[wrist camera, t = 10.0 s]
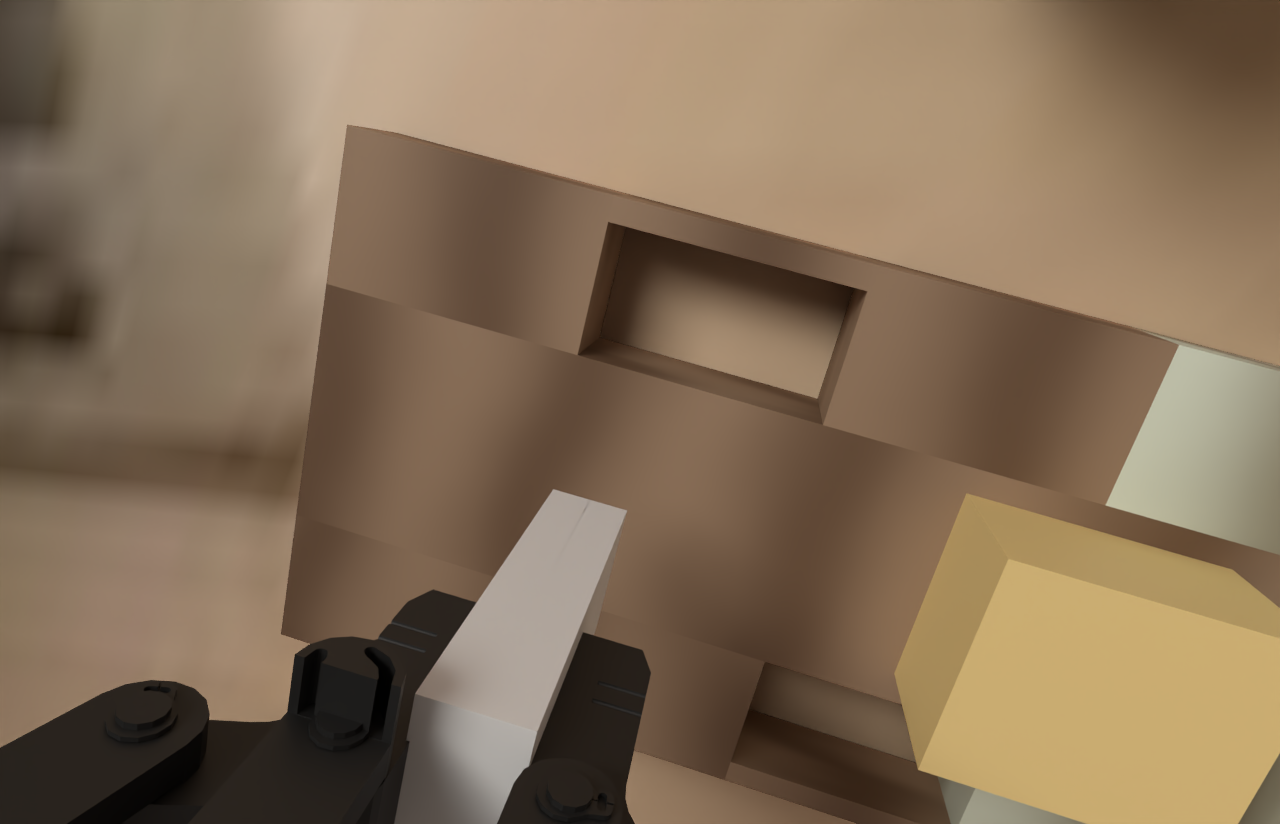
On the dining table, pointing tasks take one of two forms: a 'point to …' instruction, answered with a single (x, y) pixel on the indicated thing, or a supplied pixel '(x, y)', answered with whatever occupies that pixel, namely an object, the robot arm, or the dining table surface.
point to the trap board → (733, 456)
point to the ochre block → (1091, 673)
